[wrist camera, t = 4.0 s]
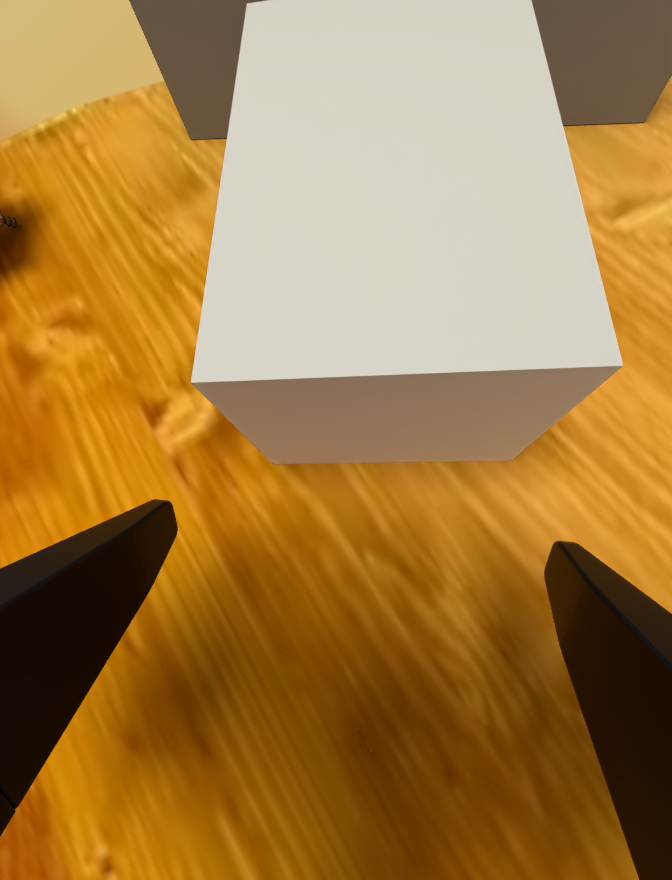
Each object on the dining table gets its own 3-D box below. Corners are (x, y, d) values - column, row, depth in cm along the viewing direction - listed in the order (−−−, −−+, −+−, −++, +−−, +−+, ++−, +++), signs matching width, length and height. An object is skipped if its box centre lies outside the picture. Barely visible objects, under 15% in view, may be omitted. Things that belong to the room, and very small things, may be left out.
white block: (509, 461, 16) (623, 365, 9) (274, 465, 17) (190, 382, 10) (472, 179, 21) (522, -38, 14) (292, 195, 22) (246, 3, 15)
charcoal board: (638, 92, 22) (838, -280, 12) (644, 122, 21) (861, -249, 11) (199, 113, 25) (90, -161, 16) (190, 139, 24) (71, -132, 15)
